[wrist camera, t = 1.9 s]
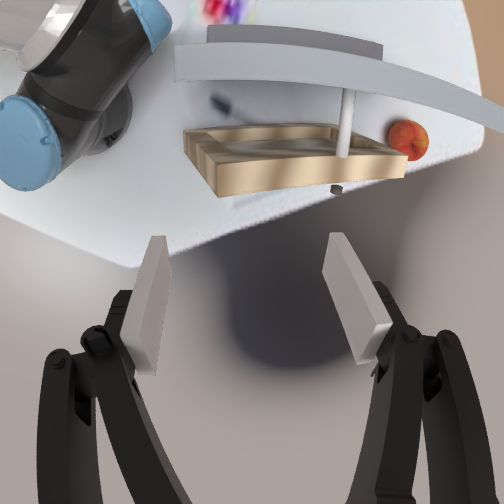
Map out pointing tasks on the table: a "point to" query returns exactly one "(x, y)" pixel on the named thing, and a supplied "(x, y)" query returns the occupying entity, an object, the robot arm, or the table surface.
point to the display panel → (324, 70)
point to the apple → (409, 139)
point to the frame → (285, 157)
